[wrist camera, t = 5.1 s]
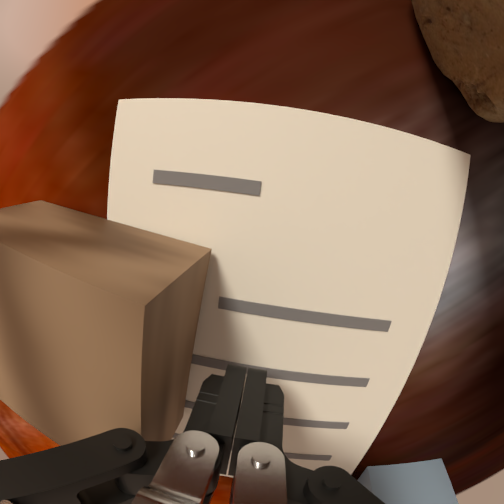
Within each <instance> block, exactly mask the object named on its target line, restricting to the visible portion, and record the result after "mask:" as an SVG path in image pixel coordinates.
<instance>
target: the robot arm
mask: <svg viewBox="0 0 504 504" xmlns="http://www.w3.org/2000/svg"><path fill="white" fill-rule="evenodd" d="M246 370H247V367H243V366H237V365H232V364H228V365H227V368H226V372H225V375H224V376H220V375H215V374H211V375H210V376H209V377H208V378H206V379H205V380H204V381H203V383H202V386H201V388H200V391H199V393H198V396H197V399H196V401H195V404H194V406H193V409H192V412H191V414H190V417H189V419H188V422H187V425H186V427H185V429H184V431H183V433H181V434H179V435H178V436H177V437H175V438H174V439H172V440H169V441H144V439H143V437H142V436H141V435H140V434H139V433H137V432H136V431H134V430H131V429H128V428H115V429H112V430H109V431H106V432H103V433H100V434H97V435H94V436H91V437H88V438H85V439H82V440H79V441H75V442H72V443H69V444H66V445H62V446H59V447H55V448H51V449H48V450H44V451H40V452H36V453H32V454H28V455H24V456H19V457H15V458H10V459H6V460H1V461H0V504H210V503H211V500H212V497H213V494H214V491H215V489H216V487H217V484H218V480H219V475H220V474H225V475H226V473H227V468H228V464H229V459H230V454H231V449H232V454H231V460H230V466H229V472H228V475H231V476H233V482H232V487H231V492H230V499H229V504H385V503H384V502H383V501H381V500H380V499H379V498H378V497H377V496H375V495H374V494H373V493H372V492H370V491H369V490H368V489H367V488H366V487H364V486H363V485H362V484H361V483H360V482H359V481H357V480H356V479H355V478H354V477H353V476H352V475H350V474H349V473H348V472H347V471H346V470H344V469H342V468H340V467H336V466H322V467H319V468H317V469H315V470H310V469H307V468H304V467H301V466H299V465H296V464H295V463H293V462H292V461H290V460H289V459H288V458H287V457H286V455H285V454H284V452H283V448H282V442H283V417H284V415H283V414H284V393H283V392H282V390H281V388H280V386H279V385H274V384H267V383H266V378H267V370H262V369H256V368H249V367H248V372H247V377H246V382H245V376H246ZM244 382H245V387H244ZM243 388H244V392H243ZM242 395H243V397H242ZM241 400H242V402H241ZM240 406H241V407H240ZM239 411H240V412H239ZM238 416H239V417H238ZM237 421H238V422H237ZM236 426H237V427H236ZM235 430H236V431H235ZM234 435H235V436H234ZM233 440H234V442H233ZM232 445H233V448H232Z"/></svg>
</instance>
